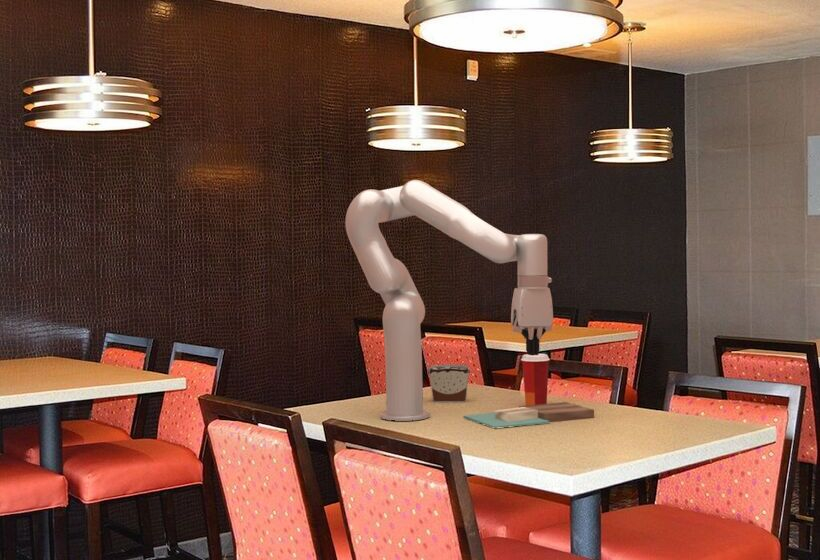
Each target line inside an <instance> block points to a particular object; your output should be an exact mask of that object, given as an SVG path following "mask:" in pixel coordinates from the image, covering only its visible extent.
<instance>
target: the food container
mask: <svg viewBox="0 0 820 560" xmlns="http://www.w3.org/2000/svg"><path fill="white" fill-rule="evenodd" d="M426 373H427V375H429V380H430V386H431V388H430V389H431V396H432V402H433V403H467V395H468V382H469V374H470V375H471V369H470V367H469V365H466V364H438V365H437V364H435V365H431V366H429V367H428V369H427V372H426Z"/></svg>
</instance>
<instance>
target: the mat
mask: <svg viewBox="0 0 820 560" xmlns="http://www.w3.org/2000/svg"><path fill="white" fill-rule="evenodd" d="M463 419H465V420H469V421H471V420H472V421H471V422H474V421H475V422H474V423H476V422H478V423H477V424H479V423H482V424H485V425H488V426H491V427H494V428H497V427H509V426H521V427H523V426H522V425H531V426H536V425H535V424H541V425H549V424H550V423H551V422H550V421H547V420H544V419H541V418H534V419H526V420H519V421H511V422H507V421H503V420H499V419H495V412H489V413H487V412H486V413H478V414H477V413H476V414H466V415H463ZM482 424H481V425H482ZM485 425H484V426H485ZM488 426H487V427H488Z"/></svg>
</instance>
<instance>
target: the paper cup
mask: <svg viewBox="0 0 820 560" xmlns="http://www.w3.org/2000/svg"><path fill="white" fill-rule="evenodd" d="M520 361H522V373H523V374H522V375H523V376H522V377H523V385H524V387H523V388H524V399H525V406H529V405H540V404H548V386H549V385H548V382H549V361H550V358H549V356H548V354H546V353H539V354H538V355H528V354H527V353H526V354H523V355H522V356H521V359H520Z"/></svg>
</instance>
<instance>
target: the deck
mask: <svg viewBox="0 0 820 560" xmlns="http://www.w3.org/2000/svg"><path fill="white" fill-rule="evenodd" d="M519 407H526V408H531V409H535V410H538V418H541V419H544V420H547V421H550V423H552V422H554V423H555V422H561V421H563V422H564V421H572V420H584V419H594V418H595V409H593V408H589V407H585V406H582V405H578V404H575V403H570V402H565V401H564V402H554V403H553V402H552V403H551V402H550V403H547V404H540V405H529V406H526V405H521V406H518V408H519Z"/></svg>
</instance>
